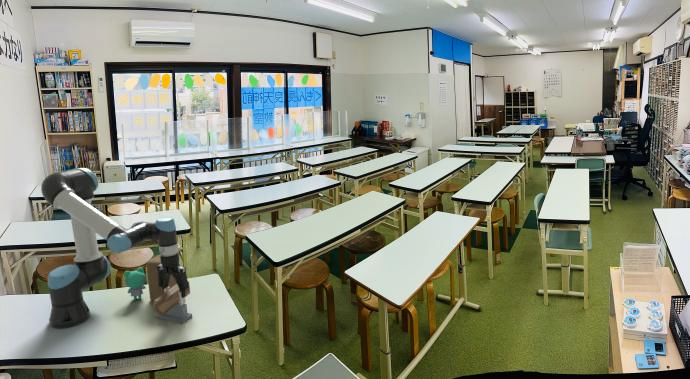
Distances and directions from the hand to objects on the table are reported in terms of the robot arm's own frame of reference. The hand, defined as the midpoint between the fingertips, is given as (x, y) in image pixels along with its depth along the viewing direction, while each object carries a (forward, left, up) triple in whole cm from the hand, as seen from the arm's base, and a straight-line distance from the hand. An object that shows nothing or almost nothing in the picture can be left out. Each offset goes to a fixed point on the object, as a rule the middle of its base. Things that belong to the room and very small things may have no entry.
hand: (175, 302), depth 190 cm
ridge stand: (-1, 0, -7) cm, 8 cm away
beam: (-1, 0, 0) cm, 1 cm away
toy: (-30, +8, -8) cm, 32 cm away
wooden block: (-19, +14, -8) cm, 25 cm away
